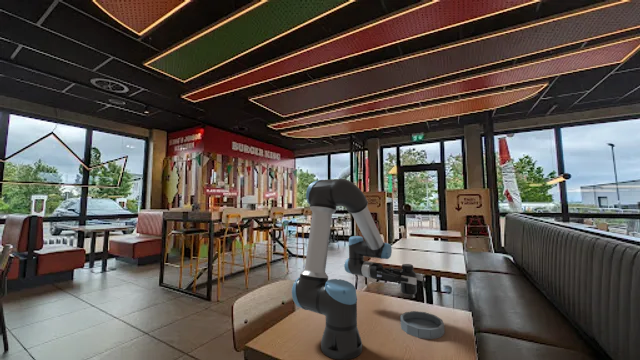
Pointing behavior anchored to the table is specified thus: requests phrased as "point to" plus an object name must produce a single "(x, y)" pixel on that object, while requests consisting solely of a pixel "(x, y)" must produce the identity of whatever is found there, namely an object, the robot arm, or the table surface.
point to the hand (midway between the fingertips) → (419, 279)
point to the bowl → (422, 325)
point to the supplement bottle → (407, 287)
